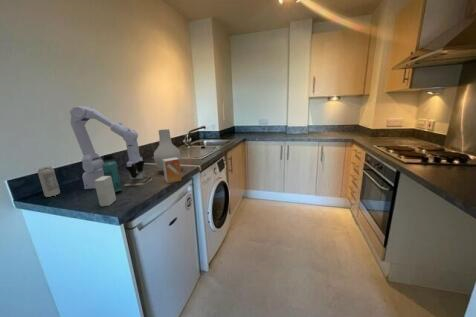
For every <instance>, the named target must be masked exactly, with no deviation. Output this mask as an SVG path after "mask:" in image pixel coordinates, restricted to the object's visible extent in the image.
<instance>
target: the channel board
mask: <svg viewBox="0 0 476 317" xmlns="http://www.w3.org/2000/svg"><path fill="white" fill-rule="evenodd" d="M145 176H146V179H145V180H133V181H130V180H124V181H123V182H124V183H123V185H124V187H131V186H132V187H134V186H135V187H136V186H147V185H148V184H149V183H150V182H151V181H152V180H153V178H152V177H153V176H152V175H145Z"/></svg>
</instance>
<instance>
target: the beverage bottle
mask: <svg viewBox="0 0 476 317" xmlns="http://www.w3.org/2000/svg"><path fill="white" fill-rule="evenodd" d="M102 157H103V158H102V160H103V162H104V163H103V164H102V168H103V174H104V176H111V178H112V183H113V187H114V192H115V193H117V192H119V191H121V190H122V183H121V177H120V173H119V169H118V163H117V162H116V161H115V160H114V156H113V154H110V153H109V154H105V155H104V154H103V156H102Z"/></svg>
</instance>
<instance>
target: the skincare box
mask: <svg viewBox="0 0 476 317" xmlns="http://www.w3.org/2000/svg"><path fill="white" fill-rule="evenodd" d="M94 183H95V187H96V188H95V191H96V194H97V199H98V203H99V206H100V207H106V206H109V207H110V206H111V205H112V204H114V202H115V201H117V197H116V192H114V187H113V183H112V178H111V176H102V177H100V178H98V179H97V180H95V181H94Z"/></svg>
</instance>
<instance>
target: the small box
mask: <svg viewBox="0 0 476 317" xmlns="http://www.w3.org/2000/svg"><path fill="white" fill-rule="evenodd" d="M162 162H163V169H164V170H163V176H164V182H166V183H167V184H171V183H177V182H181V181H182V180H183V179H182V173H181V172H182V171H181V164H180V163H181V161H180V162H179V159H178V158H177V157H174V158H168V159H162Z"/></svg>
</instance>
